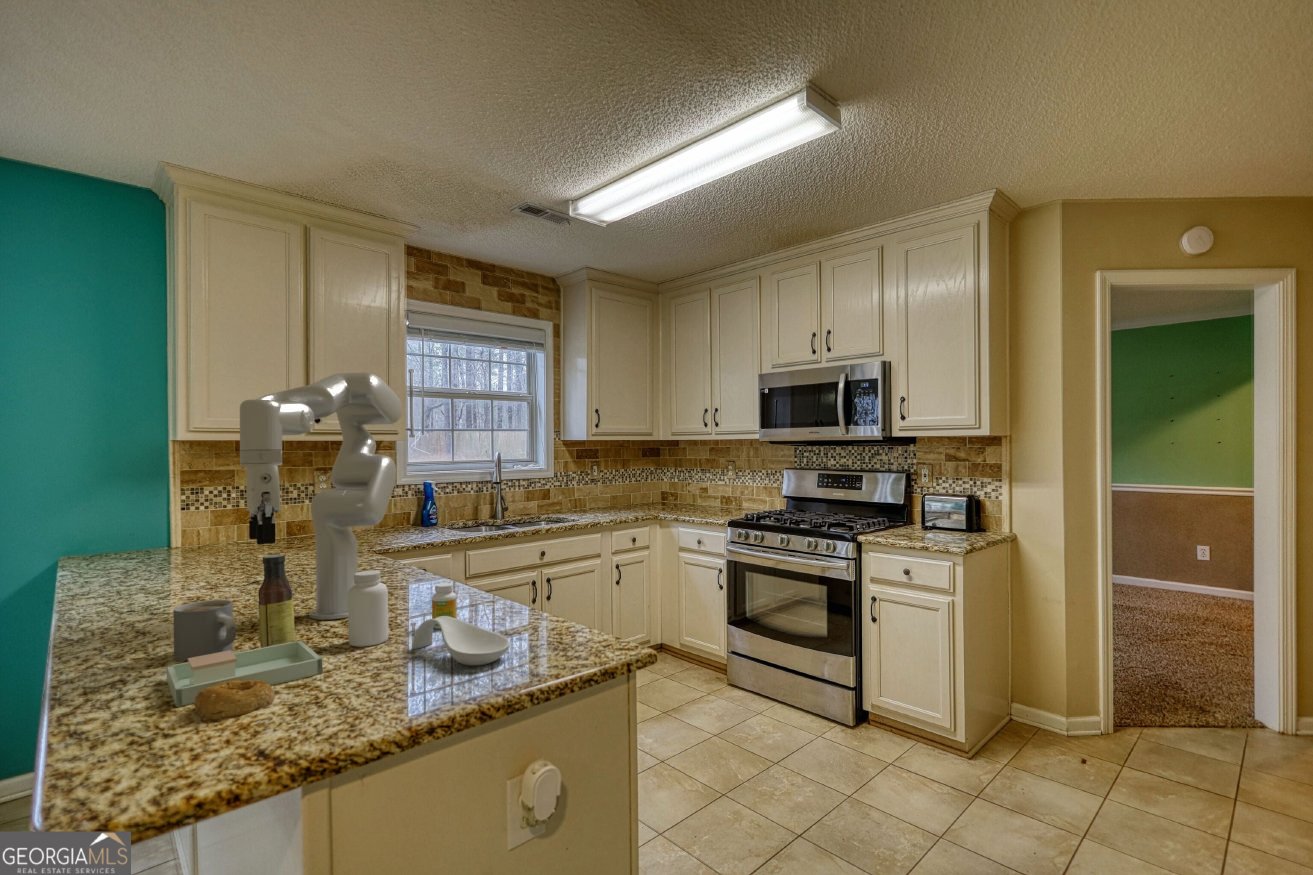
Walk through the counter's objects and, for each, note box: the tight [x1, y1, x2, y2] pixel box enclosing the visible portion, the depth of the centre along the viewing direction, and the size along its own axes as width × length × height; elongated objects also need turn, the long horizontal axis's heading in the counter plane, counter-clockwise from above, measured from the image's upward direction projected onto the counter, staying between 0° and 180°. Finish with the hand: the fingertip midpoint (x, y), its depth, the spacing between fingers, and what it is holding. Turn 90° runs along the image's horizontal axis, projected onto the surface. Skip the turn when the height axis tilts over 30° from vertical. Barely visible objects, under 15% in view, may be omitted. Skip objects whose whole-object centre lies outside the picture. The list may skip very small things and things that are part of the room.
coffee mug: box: [173, 599, 237, 662], centre depth 131 cm, size 13×10×10 cm
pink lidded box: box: [187, 650, 237, 686], centre depth 113 cm, size 6×6×5 cm
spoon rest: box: [411, 616, 511, 667], centre depth 128 cm, size 24×12×7 cm, turn 58°
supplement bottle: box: [431, 582, 457, 630], centre depth 150 cm, size 5×5×10 cm
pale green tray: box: [166, 639, 323, 708], centre depth 116 cm, size 22×16×3 cm
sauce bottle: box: [258, 553, 296, 648], centre depth 133 cm, size 7×6×20 cm
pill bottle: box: [347, 569, 389, 648], centre depth 138 cm, size 8×8×15 cm
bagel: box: [193, 680, 276, 720], centre depth 103 cm, size 10×11×5 cm
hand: (262, 541), depth 133 cm, fingers open, 9 cm apart
